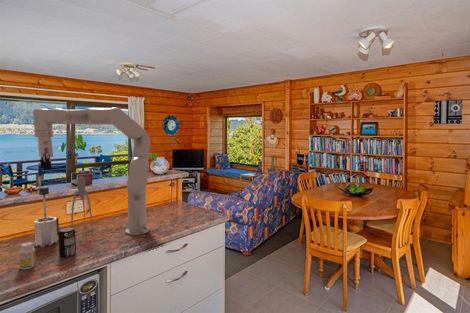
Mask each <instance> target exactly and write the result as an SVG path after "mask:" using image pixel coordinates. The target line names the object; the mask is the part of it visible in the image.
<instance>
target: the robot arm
mask: <svg viewBox="0 0 470 313" xmlns="http://www.w3.org/2000/svg"><path fill="white" fill-rule="evenodd" d="M32 113H33V128H34V138H37V147H38V156H39V158H40V161H39V162H40V163H39V164H40V168H41V169H43V171H49V170H50V171H51V170H52V161H51V158H53V157H54V152H53V142H52V138H54V132H53V131H54V128H53V124H57V125H89V126H93V125H94V126H96V125H98V126H99V125H104V126H105V125H108V126H109V125H111V126H113V127H115V128H116V129H117V130H118V131H120V132H121V133H122V134H123V135H125V136H126V137H127V138H128V139H131V140H133V147H132V154H131V155H132V156H131V160H130V164H129V169H128V176H127V183H126V190H127V226H128V228H126V229H125V234H127V235H129V236H140V235H144V234H147V233H148V232H149V231H150V227H149V226H148V225H147V197H146V196H147V191H146V189H147V184H148V176H149V170H150V164H149V157H150V150H151V149H150V148H151V140H150V139H151V138H150V136H149V133H148V131H147V130H146V129H145V128H144V127H143V126H141V125H140V124H139V123H138V122H136V121H135V120H134V119H133V118H131V117H130V116H129V115H128V114H127V113H126V112H124V111H123V109H121V108H119V107H117V106H115V107H111V108H110V107H90V108H85V109H63V108H49V109H48V108H36V109H35V108H34V110H33V112H32Z"/></svg>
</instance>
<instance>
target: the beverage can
mask: <svg viewBox="0 0 470 313" xmlns="http://www.w3.org/2000/svg"><path fill="white" fill-rule="evenodd" d="M57 239H58V252H59V253H58V255H59V256H60V257H61V258H70V257H73V256H74V255H76V253H77V241H76V240H77V239H76V230H75V227H74V226H73V227H72V226H67V227H62V228H59V233H58V235H57Z"/></svg>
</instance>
